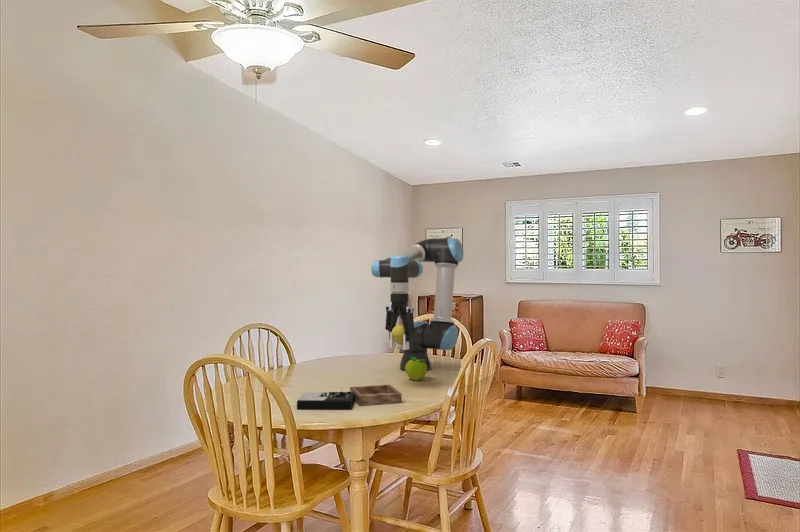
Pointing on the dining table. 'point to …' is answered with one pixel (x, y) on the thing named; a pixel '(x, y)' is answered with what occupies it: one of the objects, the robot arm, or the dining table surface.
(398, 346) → the light bulb
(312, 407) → the multimeter
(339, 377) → the dining table surface
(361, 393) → the tray
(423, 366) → the fruit
